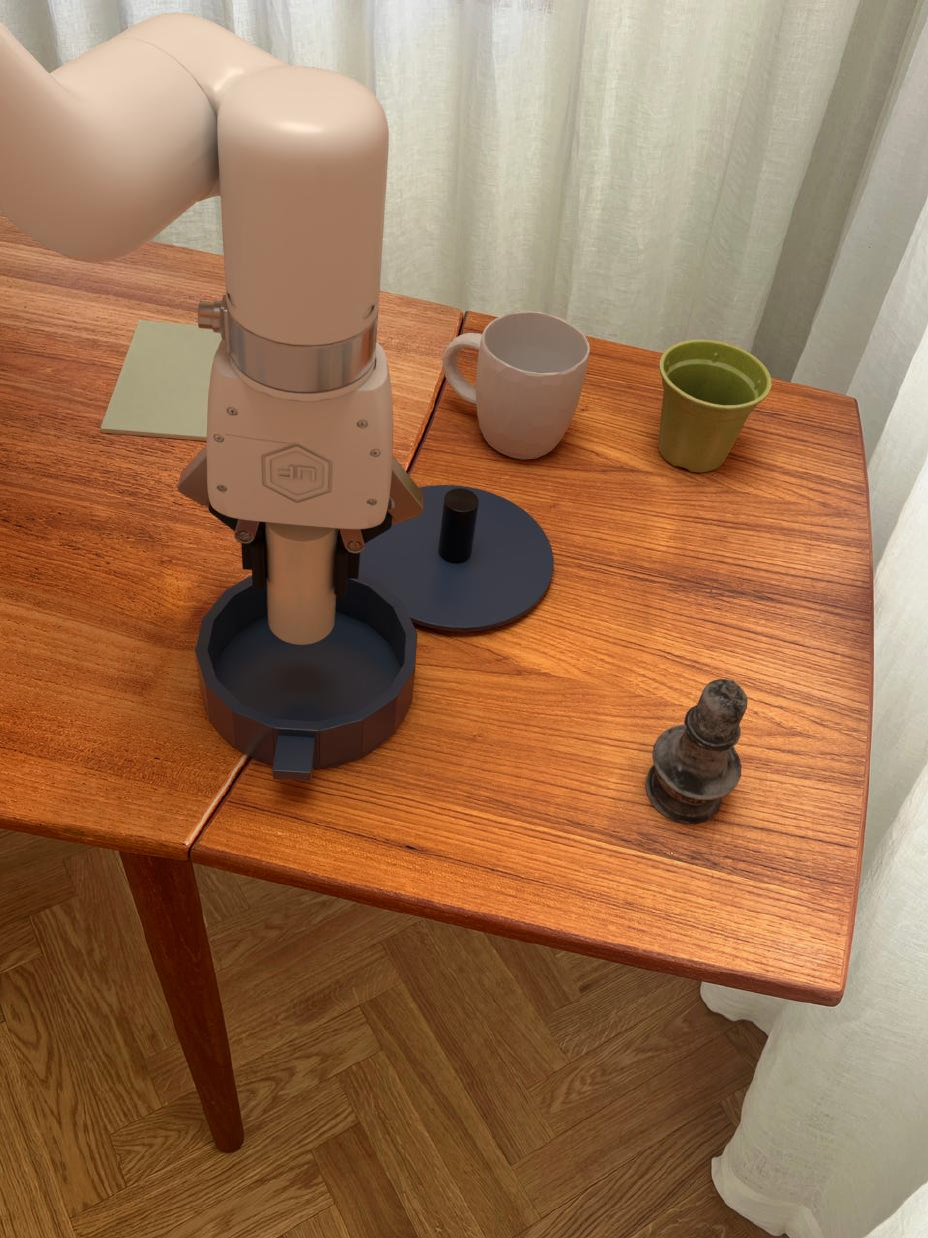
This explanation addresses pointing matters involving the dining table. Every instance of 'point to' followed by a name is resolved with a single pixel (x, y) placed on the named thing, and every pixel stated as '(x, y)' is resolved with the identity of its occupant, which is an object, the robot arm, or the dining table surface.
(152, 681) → the dining table surface
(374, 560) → the pot lid
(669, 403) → the plant pot
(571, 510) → the dining table surface
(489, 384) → the mug
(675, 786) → the dark grey chess piece
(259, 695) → the pot
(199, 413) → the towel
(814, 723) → the dining table surface
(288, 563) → the beige tall cylinder
